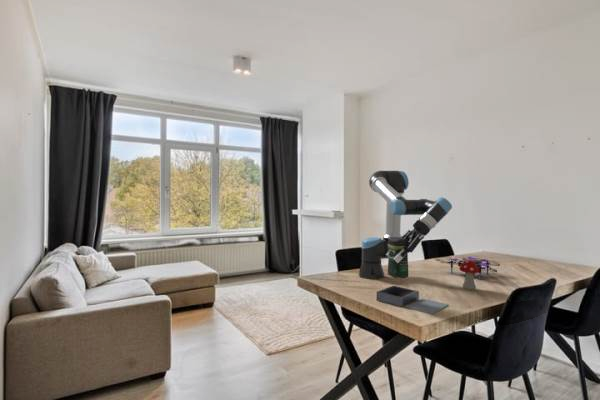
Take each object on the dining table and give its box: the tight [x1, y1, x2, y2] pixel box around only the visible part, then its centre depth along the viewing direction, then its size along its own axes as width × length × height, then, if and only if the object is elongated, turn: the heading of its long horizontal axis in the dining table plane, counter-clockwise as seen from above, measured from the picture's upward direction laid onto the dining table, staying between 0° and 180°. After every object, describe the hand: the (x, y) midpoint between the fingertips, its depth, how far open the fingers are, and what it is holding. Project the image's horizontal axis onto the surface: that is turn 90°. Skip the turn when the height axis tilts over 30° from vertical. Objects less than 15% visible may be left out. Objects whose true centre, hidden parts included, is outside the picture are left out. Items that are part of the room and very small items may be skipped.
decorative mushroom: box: [459, 260, 479, 291], centre depth 174 cm, size 10×9×15 cm
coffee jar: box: [387, 237, 409, 279], centre depth 155 cm, size 10×8×19 cm
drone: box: [434, 256, 501, 281], centre depth 205 cm, size 40×10×28 cm
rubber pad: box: [405, 298, 450, 315], centre depth 146 cm, size 12×16×1 cm
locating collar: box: [376, 285, 420, 308], centre depth 156 cm, size 13×15×4 cm
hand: (391, 258), depth 155 cm, fingers closed on coffee jar, 9 cm apart
